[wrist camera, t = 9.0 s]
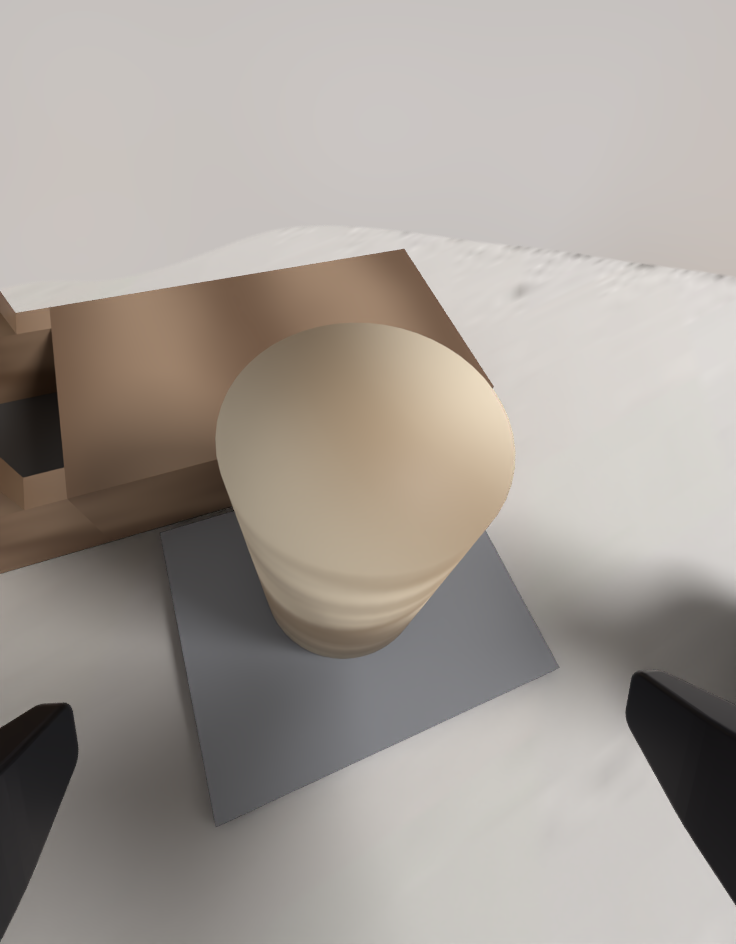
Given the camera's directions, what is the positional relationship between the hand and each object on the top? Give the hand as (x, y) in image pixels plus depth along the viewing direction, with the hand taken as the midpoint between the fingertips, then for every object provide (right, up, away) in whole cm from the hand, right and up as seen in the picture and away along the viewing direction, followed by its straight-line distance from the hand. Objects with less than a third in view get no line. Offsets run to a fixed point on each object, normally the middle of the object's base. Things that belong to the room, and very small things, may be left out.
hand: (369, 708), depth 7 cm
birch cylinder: (-1, +1, +7) cm, 7 cm away
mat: (0, 0, +7) cm, 7 cm away
